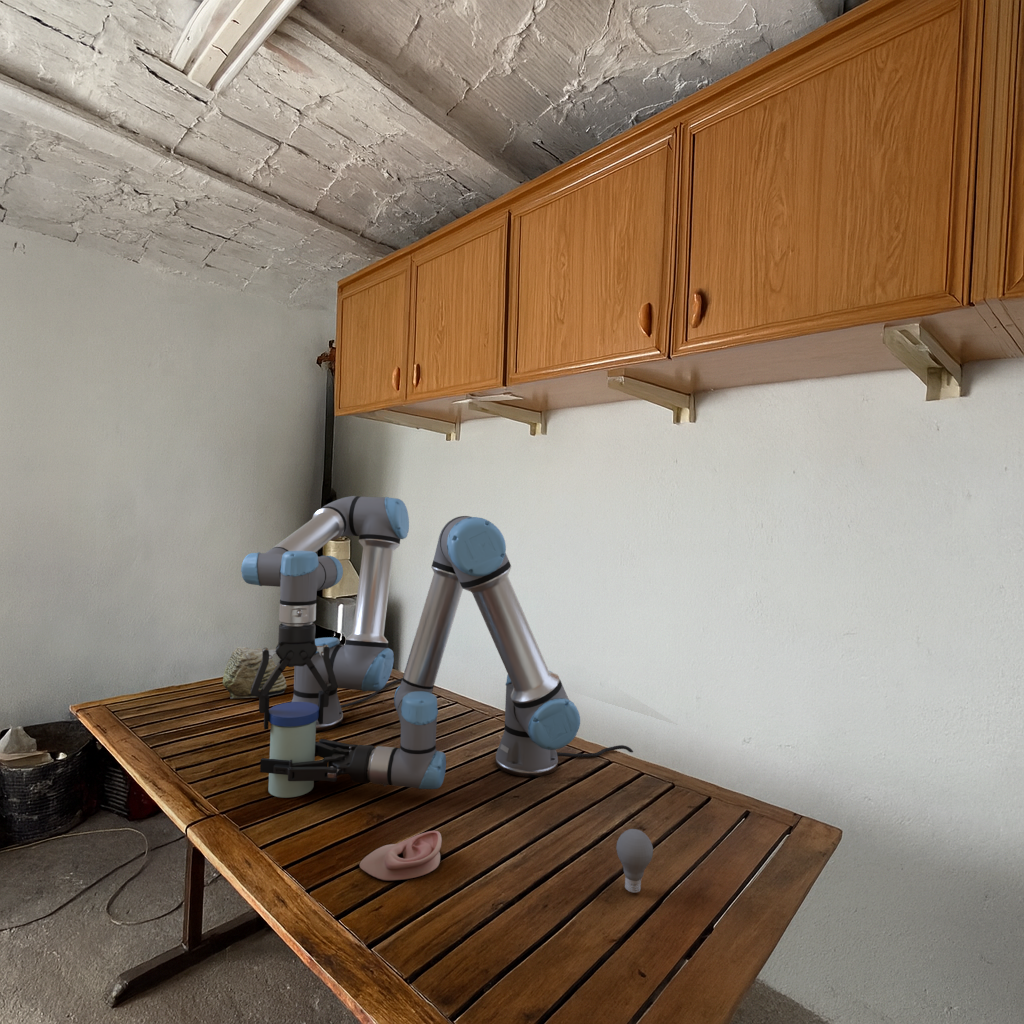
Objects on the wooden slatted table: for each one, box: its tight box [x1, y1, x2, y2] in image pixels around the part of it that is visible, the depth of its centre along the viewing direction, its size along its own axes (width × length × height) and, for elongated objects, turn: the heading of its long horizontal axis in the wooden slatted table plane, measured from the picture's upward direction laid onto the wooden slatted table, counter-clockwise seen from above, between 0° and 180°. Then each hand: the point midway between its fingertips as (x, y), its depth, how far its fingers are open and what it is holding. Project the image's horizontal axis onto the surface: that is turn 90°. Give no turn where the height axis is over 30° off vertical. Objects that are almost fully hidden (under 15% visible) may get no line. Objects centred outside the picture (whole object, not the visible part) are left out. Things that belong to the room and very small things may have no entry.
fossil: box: [222, 646, 288, 699], centre depth 198 cm, size 9×18×15 cm, turn 132°
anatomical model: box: [359, 830, 443, 882], centre depth 111 cm, size 13×4×12 cm
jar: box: [267, 721, 317, 799], centre depth 137 cm, size 9×9×16 cm
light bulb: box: [615, 828, 654, 894], centre depth 106 cm, size 6×6×10 cm
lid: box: [269, 701, 319, 727], centre depth 137 cm, size 10×10×2 cm
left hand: (293, 724), depth 137 cm, fingers open, 10 cm apart
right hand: (272, 755), depth 138 cm, fingers closed on jar, 9 cm apart
